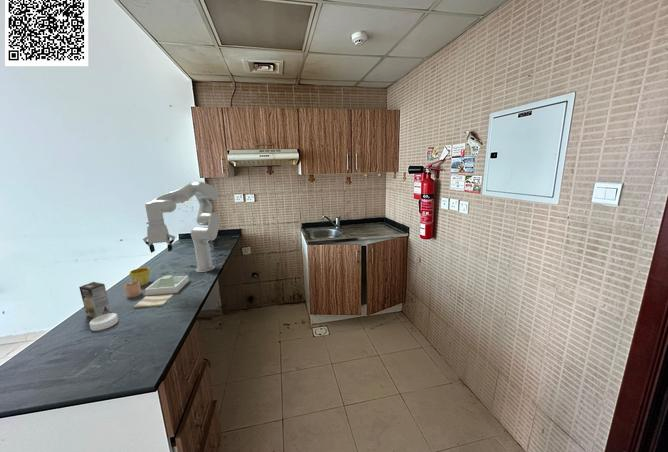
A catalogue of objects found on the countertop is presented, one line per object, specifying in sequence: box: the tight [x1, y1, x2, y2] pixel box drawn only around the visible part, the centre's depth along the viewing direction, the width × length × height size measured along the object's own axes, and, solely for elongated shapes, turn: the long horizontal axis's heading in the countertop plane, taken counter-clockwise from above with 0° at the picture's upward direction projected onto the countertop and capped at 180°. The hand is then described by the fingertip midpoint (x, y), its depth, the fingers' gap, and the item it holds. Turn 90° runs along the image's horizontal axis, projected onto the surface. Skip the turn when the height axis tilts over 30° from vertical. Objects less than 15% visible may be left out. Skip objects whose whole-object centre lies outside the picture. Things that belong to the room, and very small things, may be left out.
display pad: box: [132, 293, 175, 309], centre depth 145 cm, size 12×15×1 cm
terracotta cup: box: [124, 280, 143, 299], centre depth 152 cm, size 7×7×8 cm
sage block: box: [160, 274, 175, 287], centre depth 160 cm, size 5×5×7 cm
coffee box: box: [78, 281, 111, 319], centre depth 132 cm, size 9×6×16 cm
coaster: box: [89, 312, 119, 332], centre depth 124 cm, size 10×10×4 cm
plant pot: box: [129, 267, 151, 287], centre depth 168 cm, size 10×10×10 cm
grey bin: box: [144, 275, 190, 297], centre depth 160 cm, size 17×17×4 cm
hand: (161, 251), depth 156 cm, fingers open, 9 cm apart
